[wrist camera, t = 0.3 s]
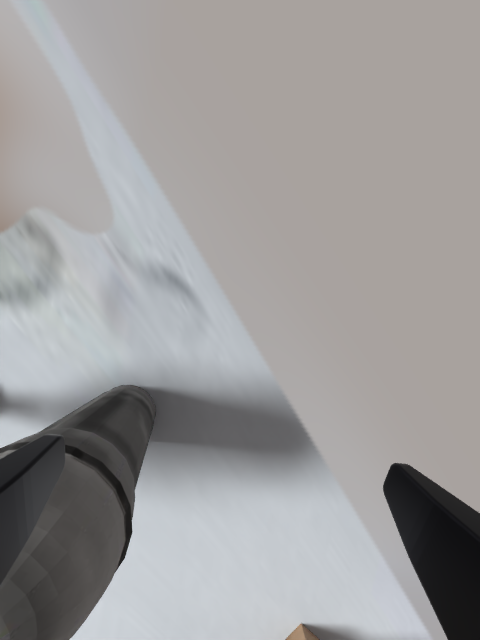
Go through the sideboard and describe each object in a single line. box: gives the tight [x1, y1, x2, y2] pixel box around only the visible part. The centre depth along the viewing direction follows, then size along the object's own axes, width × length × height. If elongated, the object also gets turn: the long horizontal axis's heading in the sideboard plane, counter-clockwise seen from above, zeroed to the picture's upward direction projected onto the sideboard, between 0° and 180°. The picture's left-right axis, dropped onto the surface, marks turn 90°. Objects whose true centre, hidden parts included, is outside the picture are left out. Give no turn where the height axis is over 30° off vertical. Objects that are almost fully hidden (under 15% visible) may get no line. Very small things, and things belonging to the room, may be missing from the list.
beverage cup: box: [0, 385, 155, 640], centre depth 12 cm, size 7×7×20 cm
